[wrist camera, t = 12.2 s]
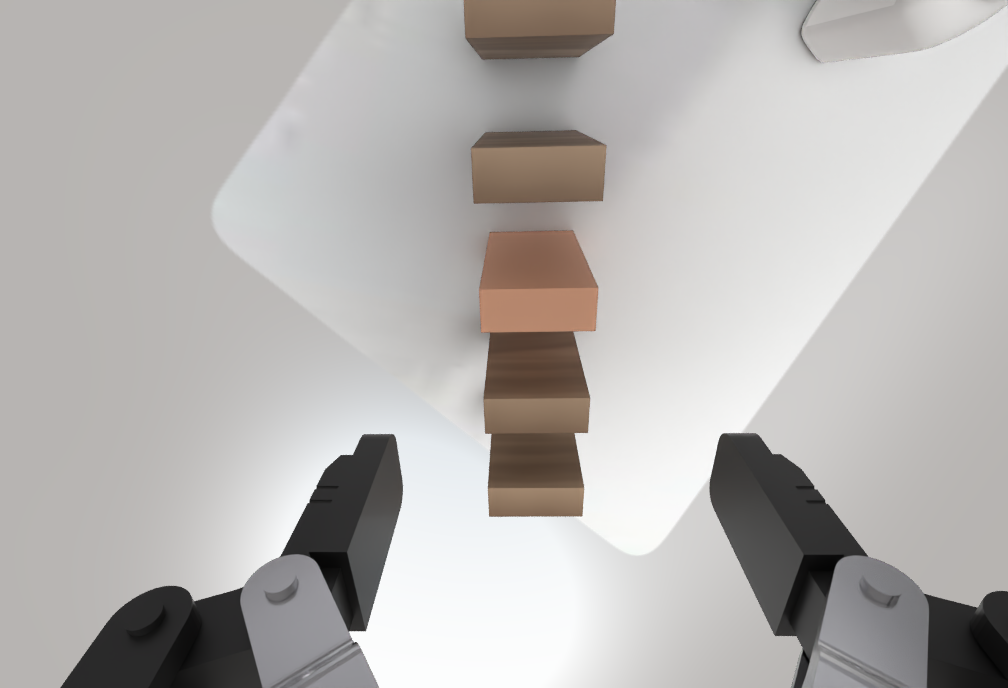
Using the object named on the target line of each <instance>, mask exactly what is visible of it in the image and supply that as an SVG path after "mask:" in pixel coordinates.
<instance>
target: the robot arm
mask: <svg viewBox="0 0 1008 688" xmlns="http://www.w3.org/2000/svg"><path fill="white" fill-rule="evenodd" d="M402 495H403V484H402V475H401V469H400V462H399V456H398V450H397V442H396V438H395V436H394V435H393V434H364V435H362V437H361V439H360V441H359V443H358V445H357V448H356V450H355V452H354V454H353V455H341V456H340V457H338V458H337V459H336V460H335V461H334V462H333V463H332V464H331V465H330V466H328V467H327V468H326V469H325V471H324V473H323V475H322V477H321V479H320V480H319V483H318V485H317V489H315V490H314V492H313V494H312V496H311V498H310V503H308V504H307V506H306V508H305V510H304V512H303V514H302V516H301V517H300V519H299V521H298V523H297V525H296V527H295V529H294V531H293V533H292V535H291V537H290V539H289V541H288V543H287V545H286V547H285V549H284V551H283V553H282V554H281V556H280V557H279V558H276V559H274V560H272V561H270V562H268V563H267V564H265V565H264V566H262V567H261V568H259V569H258V570H257V571H256V572H255V573H254V574H253V575H252V576H251V577H250V578H249V580H248V581H247V582H246V584H245V586H244V587H242V588H240V589H237V590H234V591H230V592H227V593H223V594H220V595H216V596H212V597H209V598H205V599H201V600H198V601H193V599H192V597H191V595H190V593H189V592H188V591H187V590H186V589H184V588H182V587H178V586H164V587H160V588H155V589H153V590H150V591H148V592H145V593H143V594H141V595H139V596H137V597H136V598H134V599H132V600H131V601H130V602H128V603H127V604H125V605H124V606H123V607H122V608H120V609H119V610H118V611H117V612H116V613H115V614H114V615H113V616H112V617H111V619H110V620H109V621H108V622H107V623H106V625H105V626H104V628H103V629H102V630H101V632H100V633H99V635H98V636H97V637H96V639H95V640H94V642H93V643H92V644H91V646H90V647H89V649H88V650H87V651H86V653H85V654H84V656H83V657H82V658H81V660H80V661H79V663H78V664H77V665H76V667H75V668H74V669H73V671H72V672H71V674H70V675H69V676H68V678H67V679H66V681H65V682H64V683H63V685H62V686H61V688H379V686H378V684H377V682H376V680H375V678H374V676H373V673H372V671H371V669H370V667H369V665H368V663H367V660H366V658H365V656H364V654H363V652H362V650H361V648H360V646H359V645H358V643H357V642H355V643H354V642H353V640H352V638H351V636H350V634H349V631H366V629H367V625H368V622H369V618H370V615H371V610H372V607H373V604H374V600H375V597H376V593H377V590H378V586H379V582H380V579H381V575H382V572H383V568H384V565H385V561H386V558H387V554H388V550H389V547H390V544H391V540H392V536H393V533H394V529H395V526H396V522H397V519H398V515H399V511H400V508H401V503H402ZM710 498H711V502H712V505H713V508H714V510H715V512H716V514H717V517H718V518H719V521H720V523H721V525H722V527H723V529H724V531H725V533H726V535H727V537H728V539H729V541H730V544H731V545H732V548H733V549H734V552H735V554H736V556H737V558H738V560H739V562H740V564H741V566H742V569H743V570H744V573H745V575H746V577H747V579H748V581H749V583H750V585H751V587H752V589H753V591H754V593H755V596H756V598H757V600H758V602H759V604H760V606H761V608H762V610H763V612H764V614H765V616H766V618H767V621H768V622H769V625H770V627H771V629H772V631H773V633H774V635H775V636H797V638H798V640H799V642H800V644H801V646H802V647H803V648H802V651H801V653H800V656H799V659H798V662H797V667H796V670H795V674H794V678H793V682H792V686H791V688H1008V592H1007V591H996V592H992V593H990V594H987V595H986V596H985V597H984V599H983V600H982V602H981V603H980V605H979V607H978V608H976V607H972V606H969V605H965V604H961V603H957V602H953V601H949V600H945V599H941V598H937V597H933V596H930V595H927V594H924V593H923V592H922V590H921V589H920V588H919V587H918V585H916V584H915V583H914V581H913V580H912V579H910V578H909V577H908V576H907V575H905V574H904V573H903V572H901V571H899V570H898V569H897V568H895V567H893V566H891V565H889V564H887V563H885V562H883V561H880V560H877V559H874V558H871V557H868V555H867V554H866V553H865V552H864V550H863V549H862V548H861V546H860V545H859V544H858V543H857V541H856V540H855V539H854V537H853V536H852V535H851V533H850V532H849V531H848V529H847V528H846V527H845V526H844V524H843V523H842V522H841V520H840V519H839V518H838V516H837V515H836V514H835V513H834V511H833V510H832V509H831V507H830V506H829V505H828V504H826V503H825V499H824V498H823V497H822V496H821V494H820V493H819V492H818V490H815V489H814V485H813V484H812V483H811V481H810V480H809V479H808V477H807V476H806V475H805V473H804V472H803V471H802V469H800V468H799V467H798V466H796V465H795V464H794V463H792V462H791V461H789V460H788V459H787V458H785V457H784V456H783V455H781V454H772V453H771V451H770V450H769V449H768V447H767V446H766V444H765V443H764V442H763V441H762V439H761V438H760V436H759V435H757V434H756V433H724V434H722V435H721V436H720V438H719V442H718V446H717V451H716V456H715V460H714V465H713V470H712V474H711V479H710Z"/></svg>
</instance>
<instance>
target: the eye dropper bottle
mask: <svg viewBox="0 0 1008 688" xmlns="http://www.w3.org/2000/svg"><path fill="white" fill-rule="evenodd" d="M1006 5H1008V0H817V1H816V2H815V4H814V6H813V7H812V9H811V11H810V12H809V14H808V16H807V18H806V20H805V22H804V24H803V26H802V31H801V34H802V38H803V40H804V42H805V43H806V45H807V46H808V48H809V49H810V50H811V52H812V53H813V55H814V56H815V57H816V58H817V60H819V61H821V62H822V63H823V62H835V61H843V60H852V59H860V58H869V57H877V56H884V55H892V54H900V53H907V52H914V51H920V50H924V49H928V48H931V47H934V46H937V45H939V44H942V43H944V42H946V41H949V40H951V39H953V38H955V37H957V36H959V35H961V34H963V33H965V32H967V31H969V30H971V29H972V28H974V27H976V26H977V25H979V24H981V23H982V22H984V21H985V20H987V19H988V18H990V17H991V16H993V15H994V14H996V13H997V12H998V11H1000V10H1001V9H1002V8H1004V7H1005V6H1006Z"/></svg>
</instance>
